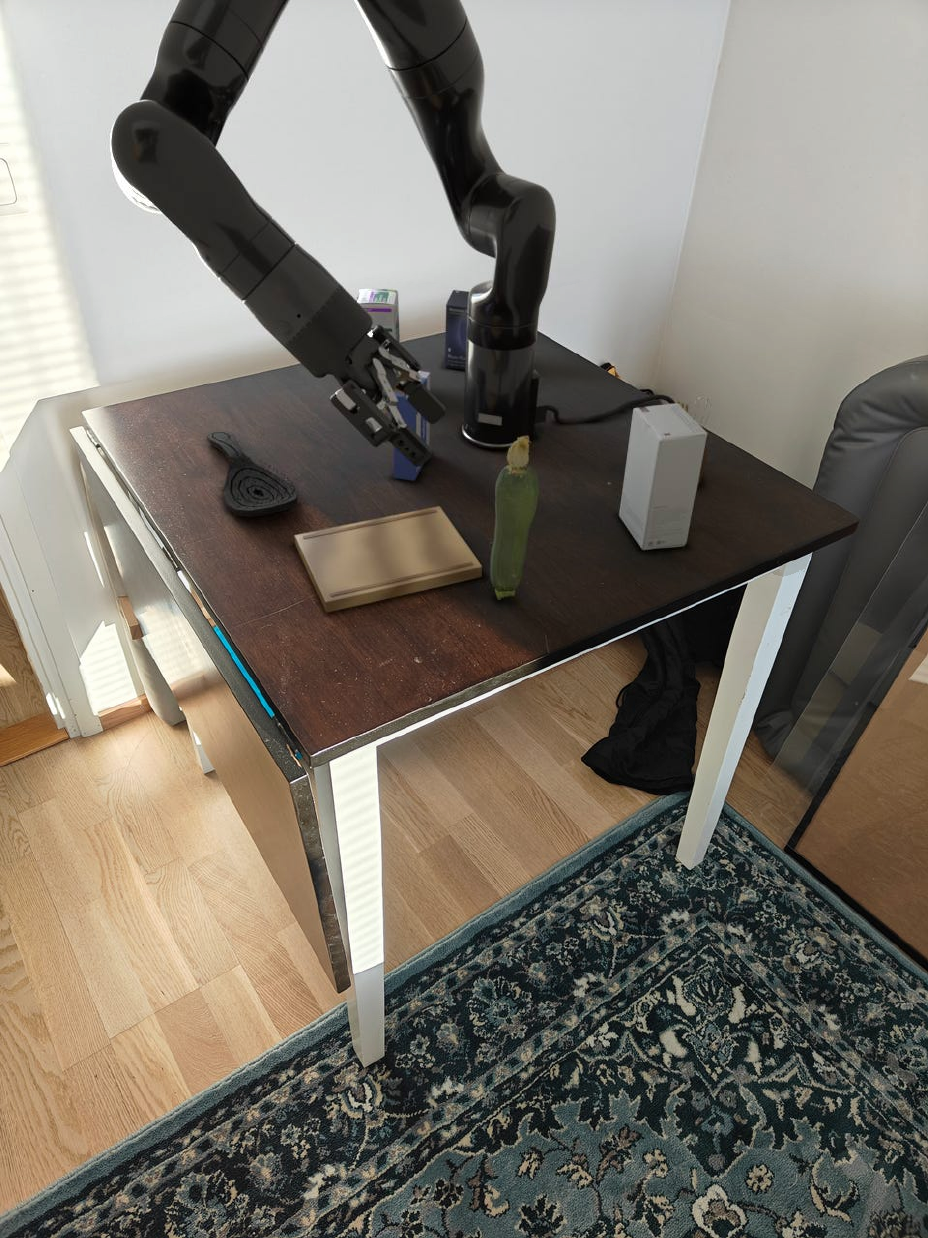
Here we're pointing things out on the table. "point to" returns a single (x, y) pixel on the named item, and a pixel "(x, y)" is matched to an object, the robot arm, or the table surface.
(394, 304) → the syrup box
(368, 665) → the table surface
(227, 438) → the hairbrush
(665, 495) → the cosmetic box
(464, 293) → the small box
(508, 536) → the vegetable
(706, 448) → the utensil holder
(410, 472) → the walkman
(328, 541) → the cutting board
